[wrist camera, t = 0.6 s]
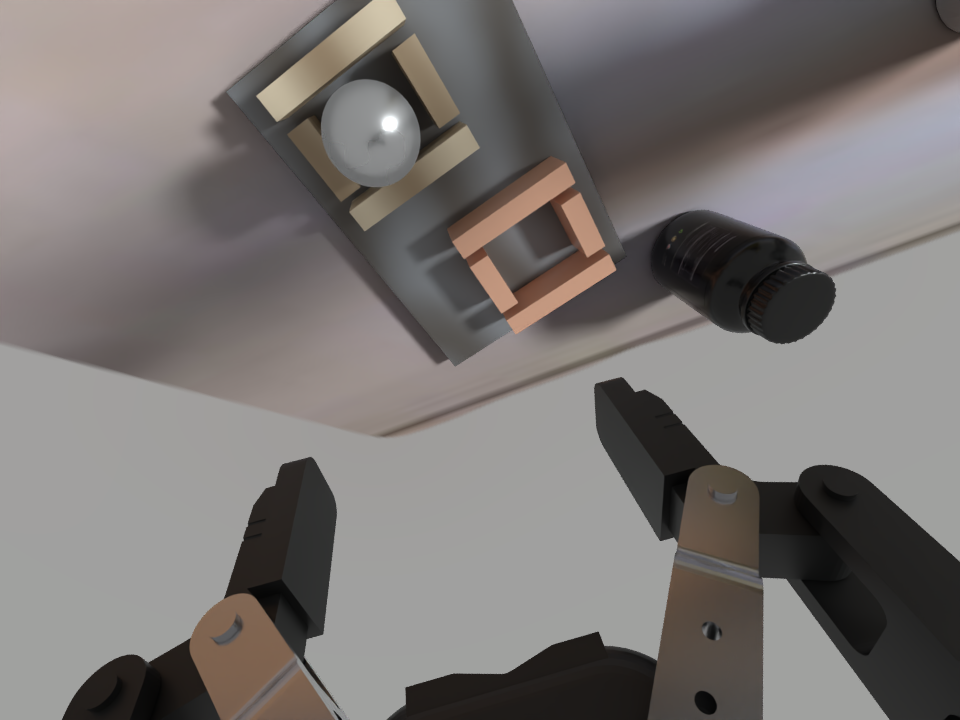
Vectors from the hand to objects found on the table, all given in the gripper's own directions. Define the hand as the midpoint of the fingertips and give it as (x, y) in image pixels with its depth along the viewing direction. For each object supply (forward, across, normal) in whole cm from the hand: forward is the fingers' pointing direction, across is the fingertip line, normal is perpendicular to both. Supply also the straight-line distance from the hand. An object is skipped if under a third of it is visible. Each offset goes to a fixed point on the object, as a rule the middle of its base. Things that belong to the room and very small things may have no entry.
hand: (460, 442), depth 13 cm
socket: (+22, -8, +3) cm, 23 cm away
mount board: (+23, -3, -2) cm, 23 cm away
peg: (+22, +1, -7) cm, 23 cm away
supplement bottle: (+23, -21, +7) cm, 32 cm away
